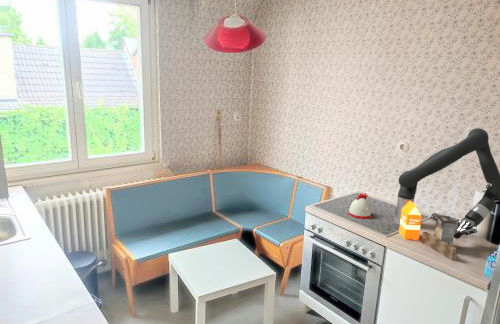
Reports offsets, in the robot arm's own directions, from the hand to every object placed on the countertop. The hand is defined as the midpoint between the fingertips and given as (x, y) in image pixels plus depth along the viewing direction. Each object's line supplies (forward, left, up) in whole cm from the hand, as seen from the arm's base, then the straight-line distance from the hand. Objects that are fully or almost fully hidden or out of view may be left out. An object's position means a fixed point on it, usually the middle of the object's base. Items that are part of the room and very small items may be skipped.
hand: (455, 237), depth 182 cm
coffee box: (-1, -7, -5) cm, 9 cm away
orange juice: (-16, -15, -5) cm, 23 cm away
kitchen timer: (-51, -24, -5) cm, 57 cm away
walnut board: (+2, -12, -5) cm, 14 cm away
